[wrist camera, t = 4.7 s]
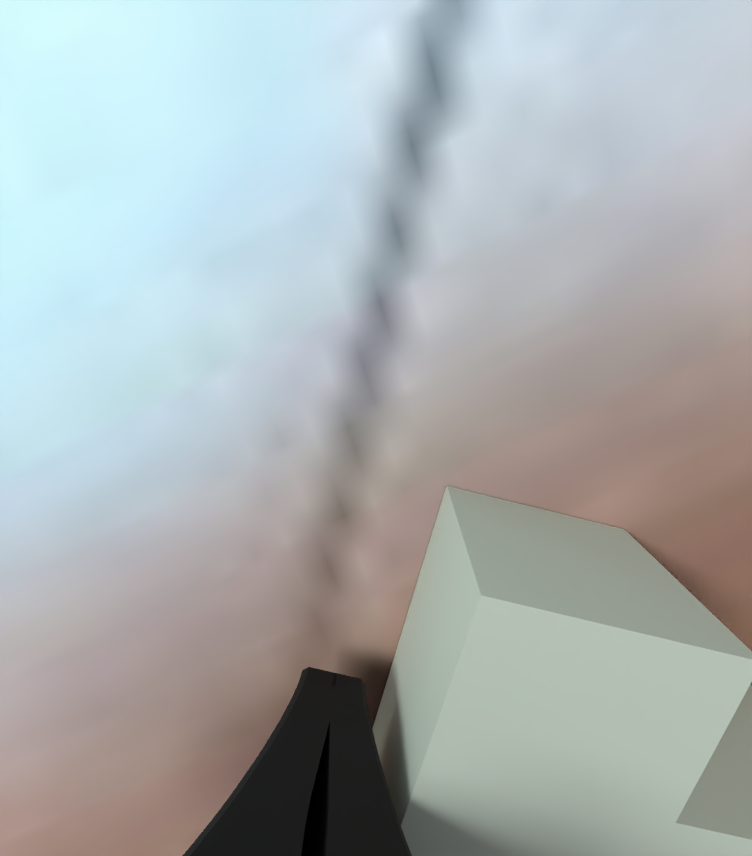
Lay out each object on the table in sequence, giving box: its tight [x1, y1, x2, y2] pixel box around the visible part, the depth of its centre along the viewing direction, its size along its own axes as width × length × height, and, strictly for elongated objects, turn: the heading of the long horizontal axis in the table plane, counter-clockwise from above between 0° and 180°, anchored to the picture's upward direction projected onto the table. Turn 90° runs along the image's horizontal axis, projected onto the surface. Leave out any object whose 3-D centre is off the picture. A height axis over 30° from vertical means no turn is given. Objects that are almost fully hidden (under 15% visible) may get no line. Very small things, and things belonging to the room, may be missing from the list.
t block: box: [372, 486, 752, 856], centre depth 10 cm, size 10×12×4 cm
